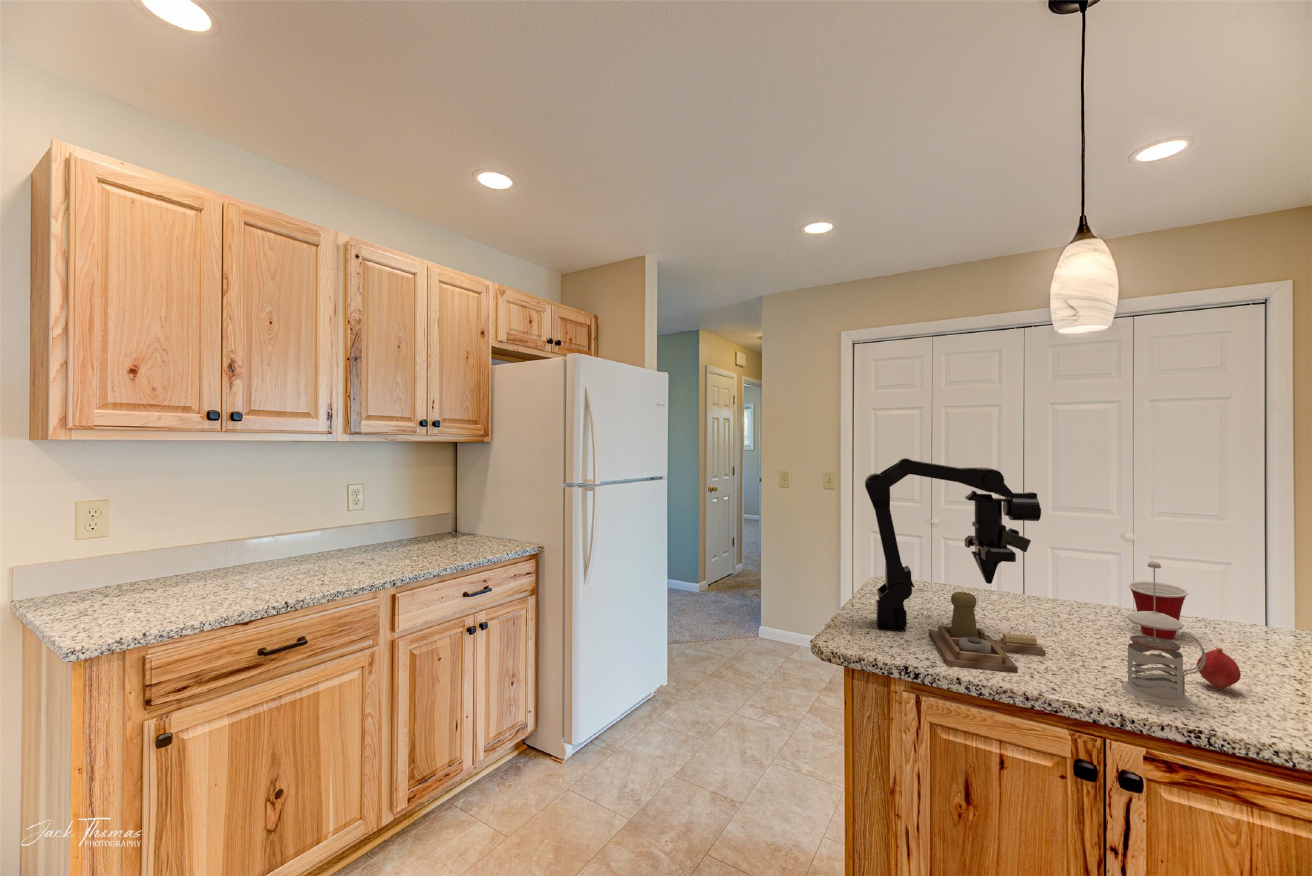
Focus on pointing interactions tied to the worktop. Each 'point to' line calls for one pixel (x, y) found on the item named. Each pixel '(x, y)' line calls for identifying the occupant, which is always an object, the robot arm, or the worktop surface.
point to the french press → (1157, 659)
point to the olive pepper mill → (963, 615)
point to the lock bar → (1019, 639)
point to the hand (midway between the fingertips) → (988, 583)
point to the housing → (979, 650)
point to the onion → (1219, 669)
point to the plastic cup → (1158, 603)
